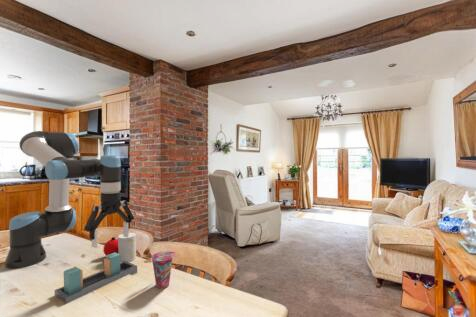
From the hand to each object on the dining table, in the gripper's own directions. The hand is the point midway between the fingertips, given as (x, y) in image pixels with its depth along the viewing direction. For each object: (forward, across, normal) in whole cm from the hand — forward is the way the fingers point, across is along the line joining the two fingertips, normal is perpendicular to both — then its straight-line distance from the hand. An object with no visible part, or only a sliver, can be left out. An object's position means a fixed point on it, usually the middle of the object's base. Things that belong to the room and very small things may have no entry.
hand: (111, 241), depth 102 cm
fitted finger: (+15, +15, +1) cm, 21 cm away
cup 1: (+16, -15, -11) cm, 25 cm away
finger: (+15, 0, +1) cm, 15 cm away
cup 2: (+16, -8, +23) cm, 29 cm away
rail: (+16, +5, +1) cm, 17 cm away
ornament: (+16, -13, -20) cm, 29 cm away
